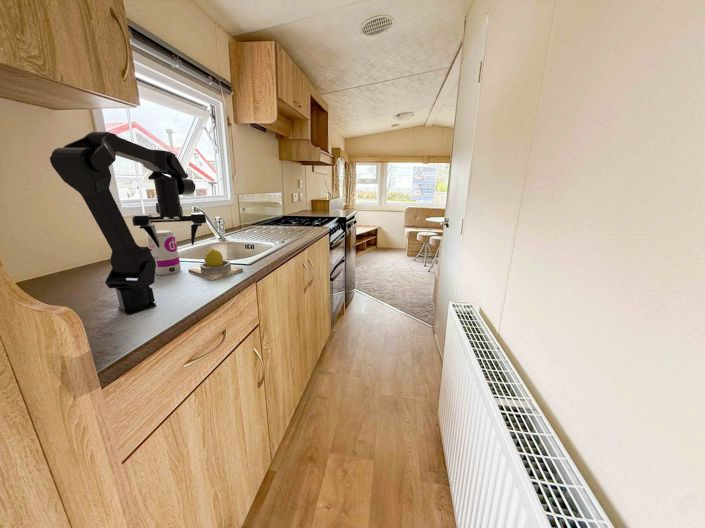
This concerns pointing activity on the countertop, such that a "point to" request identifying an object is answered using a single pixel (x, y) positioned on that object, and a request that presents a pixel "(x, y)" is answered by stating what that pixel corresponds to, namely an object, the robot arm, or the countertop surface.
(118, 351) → the countertop surface
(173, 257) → the supplement can
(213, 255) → the lemon
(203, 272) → the carrier board
